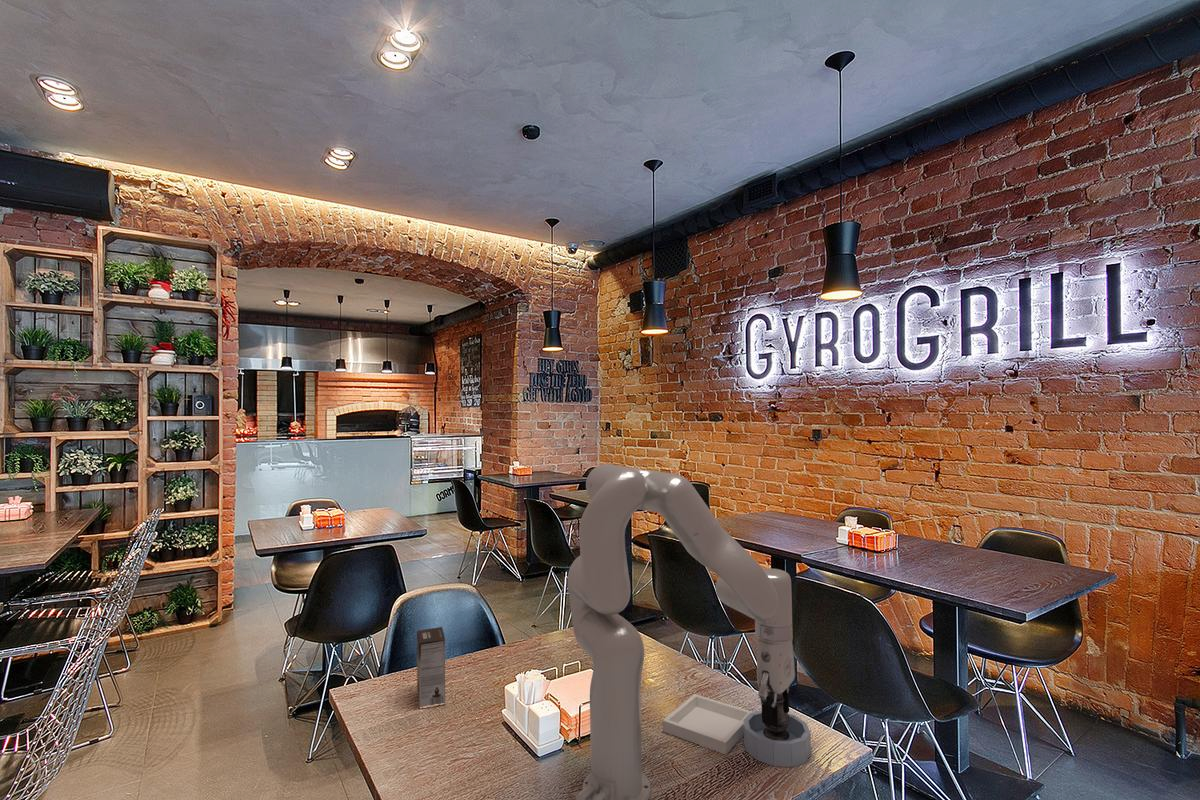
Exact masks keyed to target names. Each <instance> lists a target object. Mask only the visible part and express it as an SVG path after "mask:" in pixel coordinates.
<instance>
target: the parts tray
mask: <svg viewBox="0 0 1200 800" xmlns="http://www.w3.org/2000/svg"><path fill="white" fill-rule="evenodd" d="M753 712H754V711H751V710H750V709H749V710H747V709H745V708H742V707H739V706H735V705H733V704H729V703H725V702H722V701H719V700H715V699H712V698H709V697H705V696H702V695H699V694H697V693H694V694H692V695H691V696H690V697H689V698H687V700H685V701H684V702H683V703H682V704H680V705H679V706H678V707H677V708H676V709H675V710H673V711H671V712H670V714H668V715H667V716H666V717H665V718H664V719H662V733H664V732H666V733H665V734H667V733H668V734H667V735H670V734H671V735H670V736H672V735H674V736H673V737H675V736H677V737H676V738H678V737H679V739H681V738H682V739H681V740H683V739H684V741H686V740H687V741H686V742H689V741H690V742H689V743H692V742H693V743H692V744H694V743H695V745H697V744H699V745H698V746H700V745H702V746H701V747H703V746H704V747H703V748H705V747H707V748H706V749H708V748H709V750H711V751H714V750H715V751H714V752H717V753H720V754H722V755H725V756H727V754H728V753H729V752H730V751H731V750H732V749H733V748H734V747H735V746H736V744H737V743H738V742H739V741H740V740H741V739H742V738H744V723H743V720H744V719H745V718H746V717H747V716H748V715H749V714H750V713H753ZM734 745H735V746H734ZM733 746H734V747H733ZM732 747H733V748H732Z"/></svg>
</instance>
